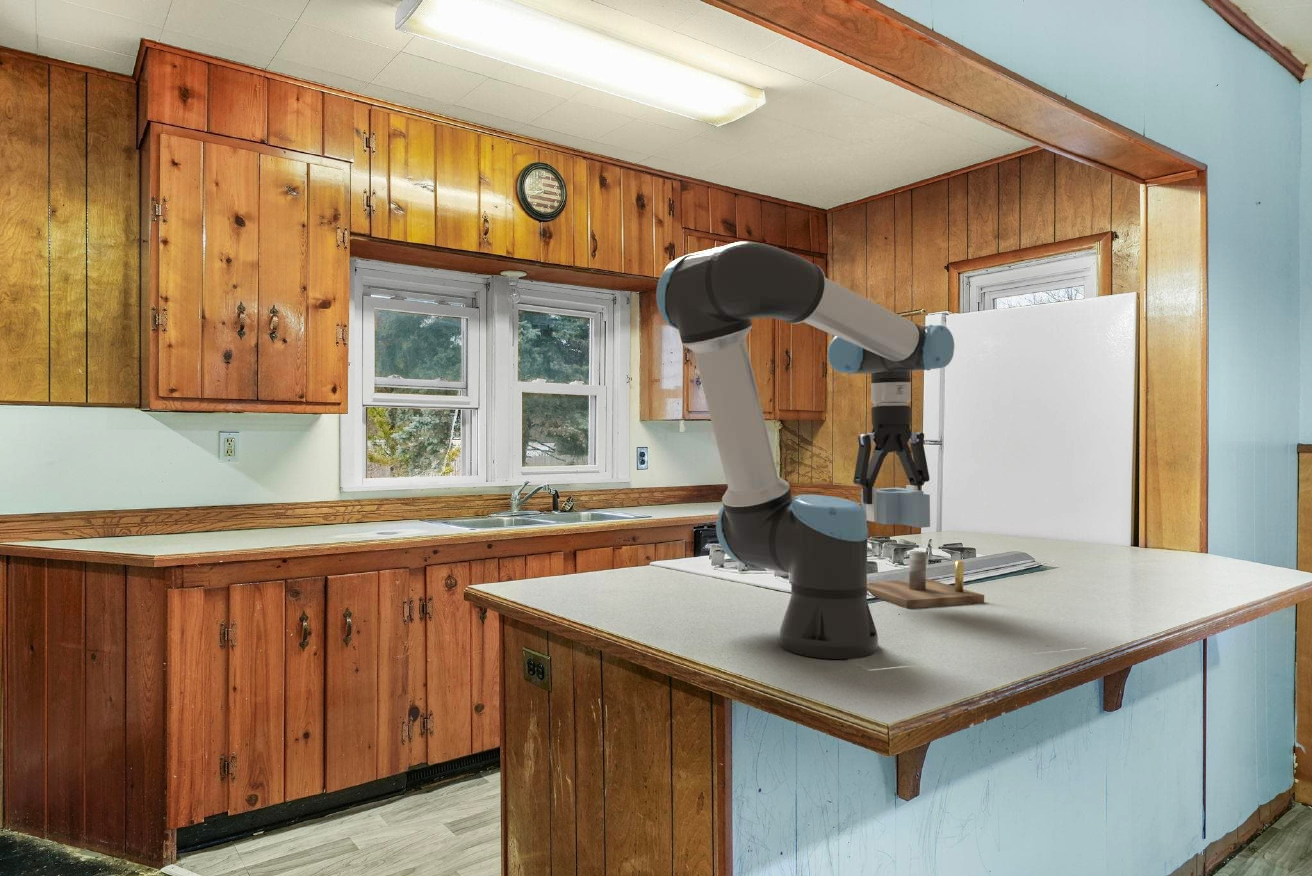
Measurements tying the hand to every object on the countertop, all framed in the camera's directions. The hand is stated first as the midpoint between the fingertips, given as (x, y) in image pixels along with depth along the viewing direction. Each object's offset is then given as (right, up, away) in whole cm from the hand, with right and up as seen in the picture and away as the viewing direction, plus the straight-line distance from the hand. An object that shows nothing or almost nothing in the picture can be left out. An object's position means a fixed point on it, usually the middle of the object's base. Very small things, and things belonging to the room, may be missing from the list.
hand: (892, 519), depth 159 cm
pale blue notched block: (+1, 0, -3) cm, 3 cm away
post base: (+7, -16, +6) cm, 19 cm away
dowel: (+15, -15, +3) cm, 21 cm away
